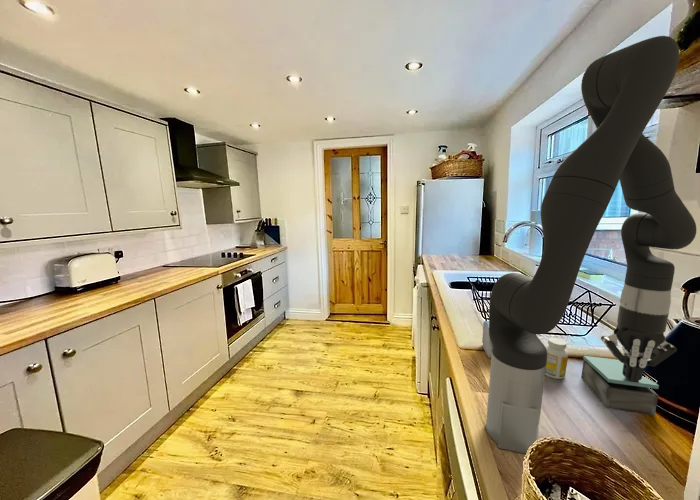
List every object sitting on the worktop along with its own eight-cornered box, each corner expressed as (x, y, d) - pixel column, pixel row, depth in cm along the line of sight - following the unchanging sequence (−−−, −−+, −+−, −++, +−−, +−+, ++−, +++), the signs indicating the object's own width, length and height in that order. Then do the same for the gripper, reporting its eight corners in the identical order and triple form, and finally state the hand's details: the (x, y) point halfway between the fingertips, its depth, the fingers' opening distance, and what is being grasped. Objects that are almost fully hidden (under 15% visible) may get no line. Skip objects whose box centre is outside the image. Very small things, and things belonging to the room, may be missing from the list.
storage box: (654, 415, 65) (658, 395, 64) (605, 408, 67) (608, 388, 66) (622, 382, 76) (625, 365, 75) (581, 377, 79) (583, 360, 78)
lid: (658, 389, 64) (658, 385, 64) (608, 382, 67) (608, 378, 66) (624, 363, 75) (625, 360, 75) (583, 358, 78) (583, 355, 78)
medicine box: (503, 359, 88) (506, 332, 86) (487, 358, 89) (489, 331, 87) (496, 346, 95) (498, 321, 94) (481, 345, 96) (483, 320, 95)
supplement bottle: (545, 377, 79) (549, 344, 77) (538, 366, 84) (542, 335, 82) (568, 381, 77) (573, 347, 75) (560, 369, 82) (564, 337, 81)
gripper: (616, 310, 61) (604, 385, 64) (697, 316, 58) (681, 395, 61) (597, 298, 69) (588, 366, 72) (669, 303, 65) (656, 375, 68)
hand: (631, 379), depth 66 cm, fingers closed
